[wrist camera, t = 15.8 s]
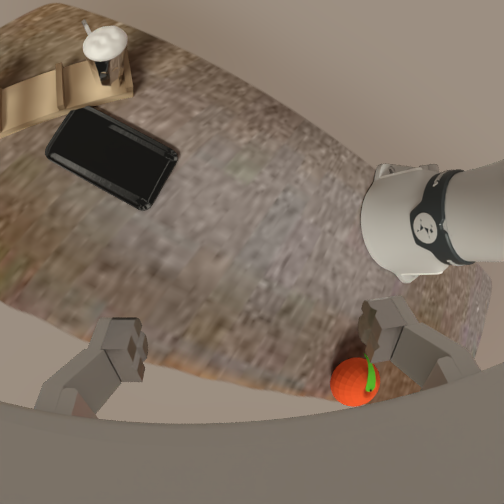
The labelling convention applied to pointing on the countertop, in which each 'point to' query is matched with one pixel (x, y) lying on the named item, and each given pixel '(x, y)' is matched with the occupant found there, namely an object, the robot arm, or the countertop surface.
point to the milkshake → (105, 55)
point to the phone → (112, 156)
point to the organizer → (56, 95)
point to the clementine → (355, 381)
